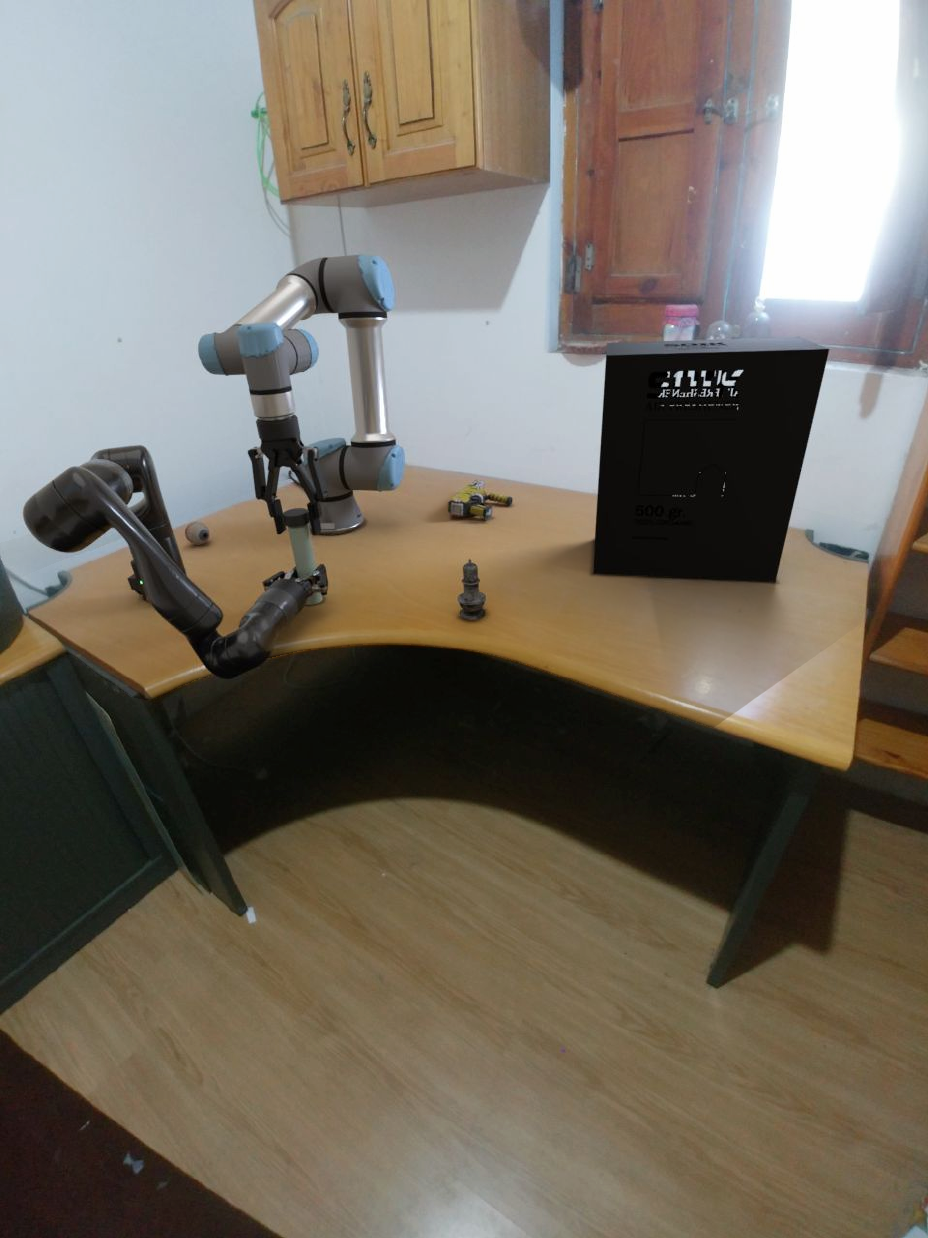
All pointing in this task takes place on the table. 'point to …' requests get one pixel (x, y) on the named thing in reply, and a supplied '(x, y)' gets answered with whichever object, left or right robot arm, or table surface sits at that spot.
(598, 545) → the black angular block
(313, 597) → the bottle
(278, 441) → the right robot arm
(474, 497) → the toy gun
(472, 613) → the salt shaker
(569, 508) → the table surface
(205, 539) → the eyeball
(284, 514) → the lid
